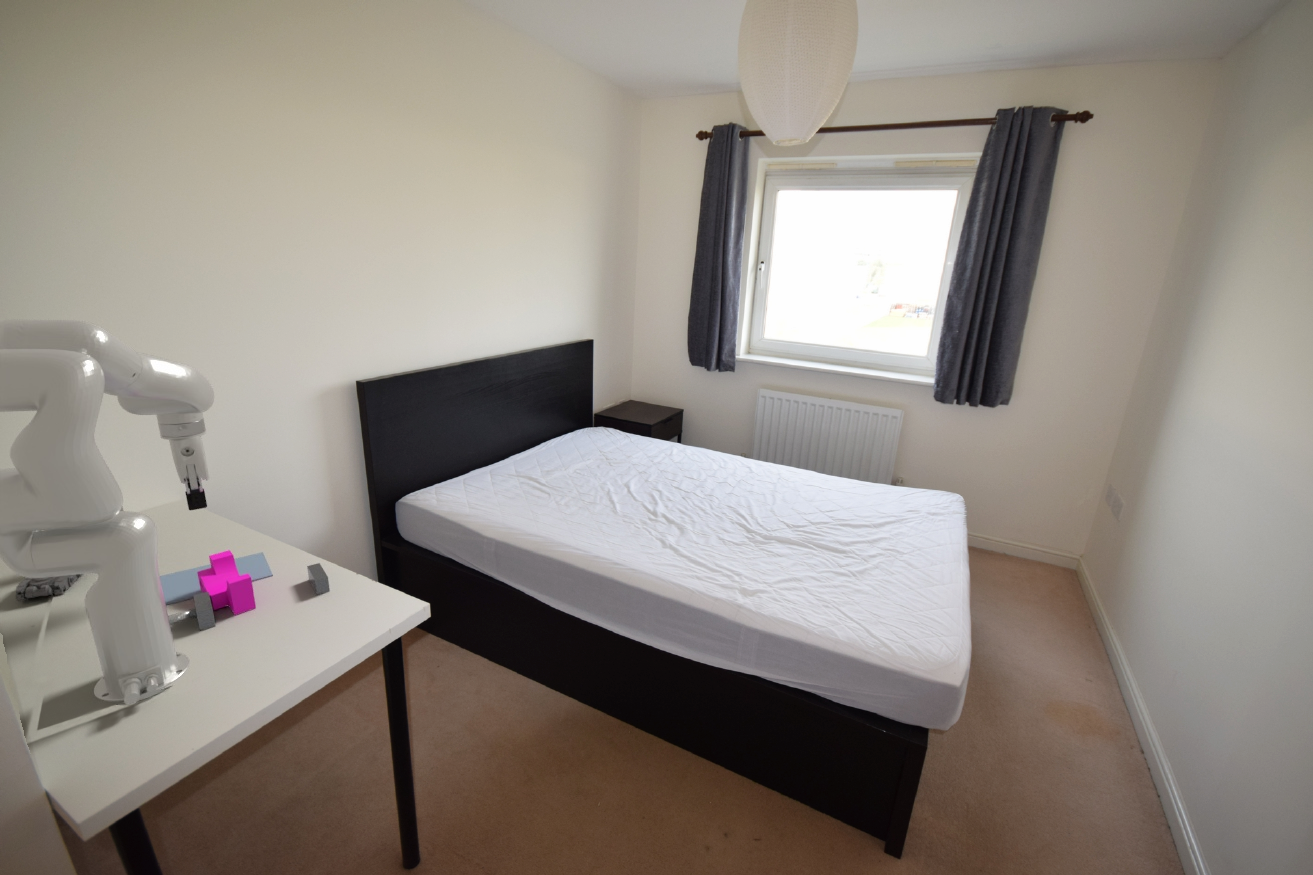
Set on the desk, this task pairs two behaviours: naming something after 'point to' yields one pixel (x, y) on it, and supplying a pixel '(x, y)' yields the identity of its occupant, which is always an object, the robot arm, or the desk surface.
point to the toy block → (227, 584)
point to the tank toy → (44, 586)
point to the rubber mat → (187, 581)
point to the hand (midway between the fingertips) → (197, 507)
